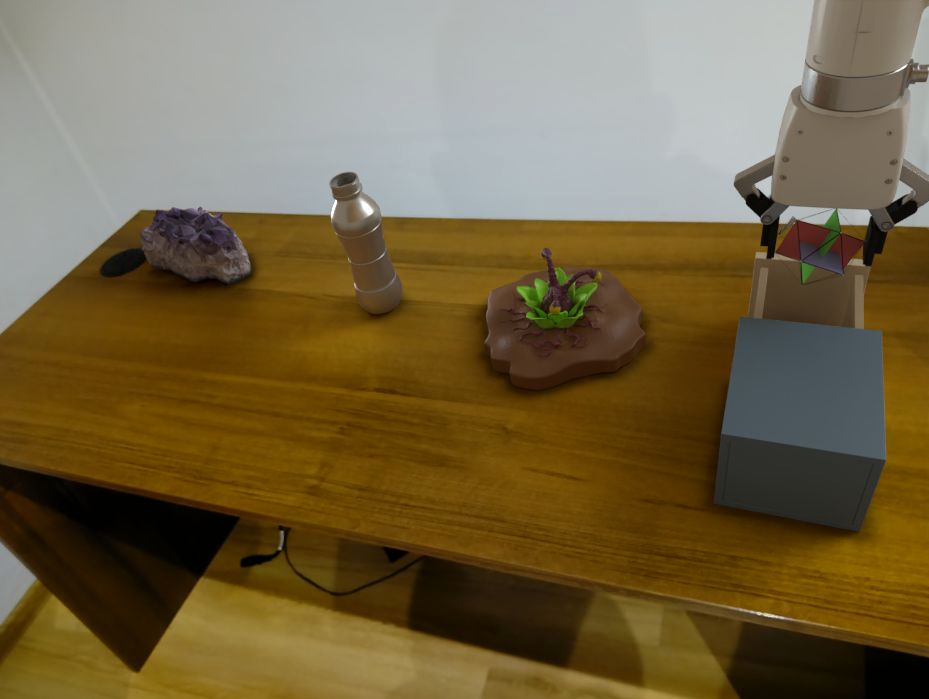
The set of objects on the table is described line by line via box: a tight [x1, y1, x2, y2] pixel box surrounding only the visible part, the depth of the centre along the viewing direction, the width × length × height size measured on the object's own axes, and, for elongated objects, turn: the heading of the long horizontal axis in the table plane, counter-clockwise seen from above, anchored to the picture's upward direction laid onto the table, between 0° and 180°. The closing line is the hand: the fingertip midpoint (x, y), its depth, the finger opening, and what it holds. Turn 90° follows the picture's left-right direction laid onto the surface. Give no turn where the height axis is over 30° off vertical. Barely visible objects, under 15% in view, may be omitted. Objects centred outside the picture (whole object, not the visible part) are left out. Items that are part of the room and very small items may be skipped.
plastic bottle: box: [328, 171, 404, 315], centre depth 94 cm, size 6×7×20 cm
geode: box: [139, 206, 253, 285], centre depth 114 cm, size 20×12×10 cm, turn 60°
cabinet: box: [713, 316, 887, 533], centre depth 68 cm, size 16×13×11 cm
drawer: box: [747, 251, 872, 329], centre depth 78 cm, size 19×11×9 cm, turn 159°
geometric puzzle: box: [775, 208, 866, 286], centre depth 70 cm, size 7×7×8 cm
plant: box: [483, 247, 647, 391], centre depth 87 cm, size 20×20×11 cm
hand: (817, 253), depth 70 cm, fingers closed on geometric puzzle, 8 cm apart
